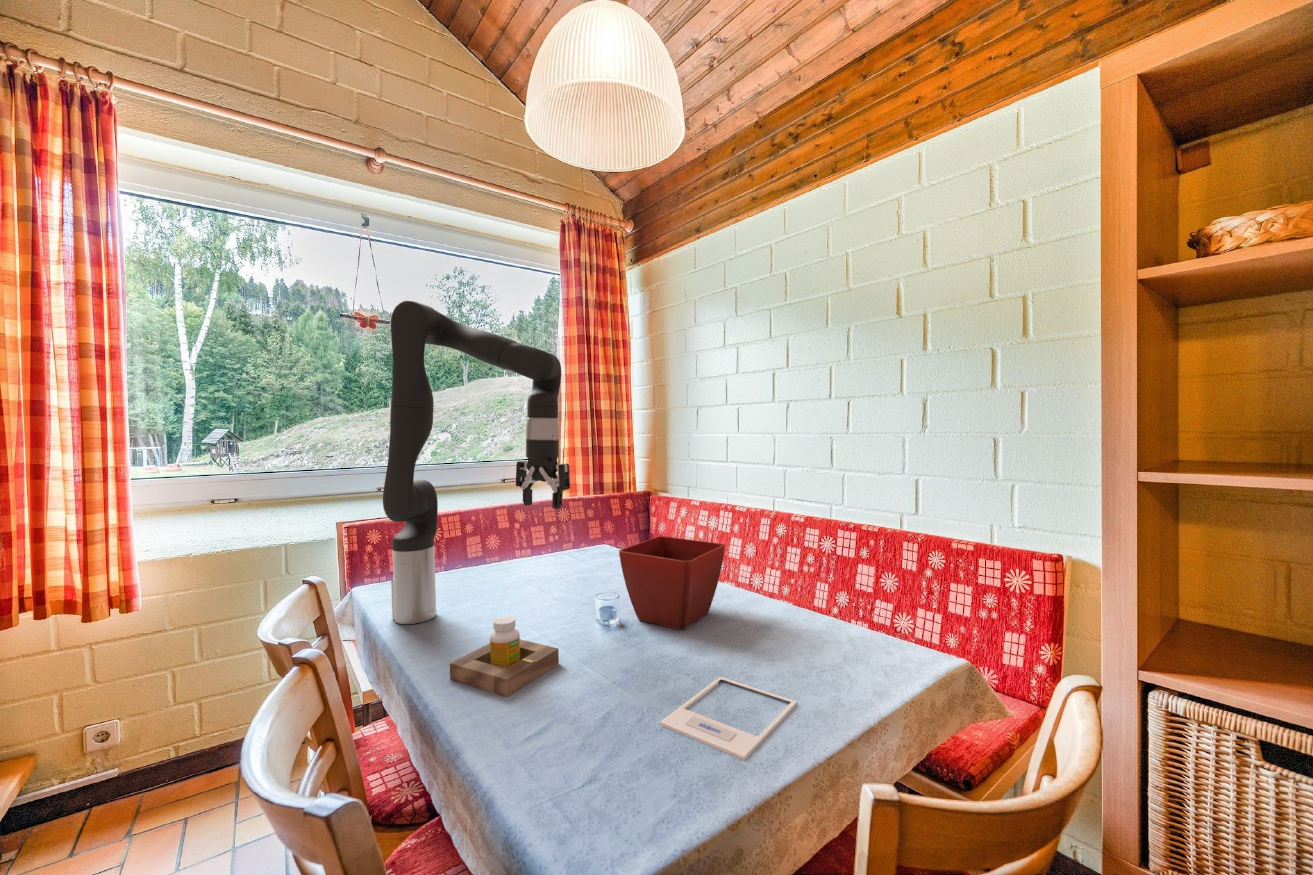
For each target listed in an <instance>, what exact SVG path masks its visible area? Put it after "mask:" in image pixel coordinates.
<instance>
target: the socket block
mask: <svg viewBox="0 0 1313 875" xmlns="http://www.w3.org/2000/svg"><path fill="white" fill-rule="evenodd" d="M559 653H560V652H559V648H558V647H554V646H550V645H545V644H541V643H537V642H532V641H529V640H525V639H520V661H519V662H517V663H515V664H513V665H512V666H510V667H508V668H506V669H505V668H502V667H498V666H494V665H491V652H490V642H489V643H487V644H485V645H483V646H481V647H479V648H477V649H475V650H473V651H471V652H469V653H467V654H465V655H463V656H461V657H459V658H457V659H455V660H453V661H451V662H449V679H450V680H451V681H455V682H457V683H462V684H465V685H468V686H471V687H474V688H477V689H480V690H484V691H487V692H490V693H493V694H497V695H500V696H504V697H509V696H510V695H512V694H513V693H515V692H517V691H518V690H520V689H522V688H523V687H524V686H527V685H528V684H530V683H531V682H532V681H534V680H536V679H537V678H539V677H541V675H543V674H545V673H546V672H548V671H549V670H551V669H552V668H554V667H556V666H558V665H559V662H560V661H559V660H560V656H559Z"/></svg>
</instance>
